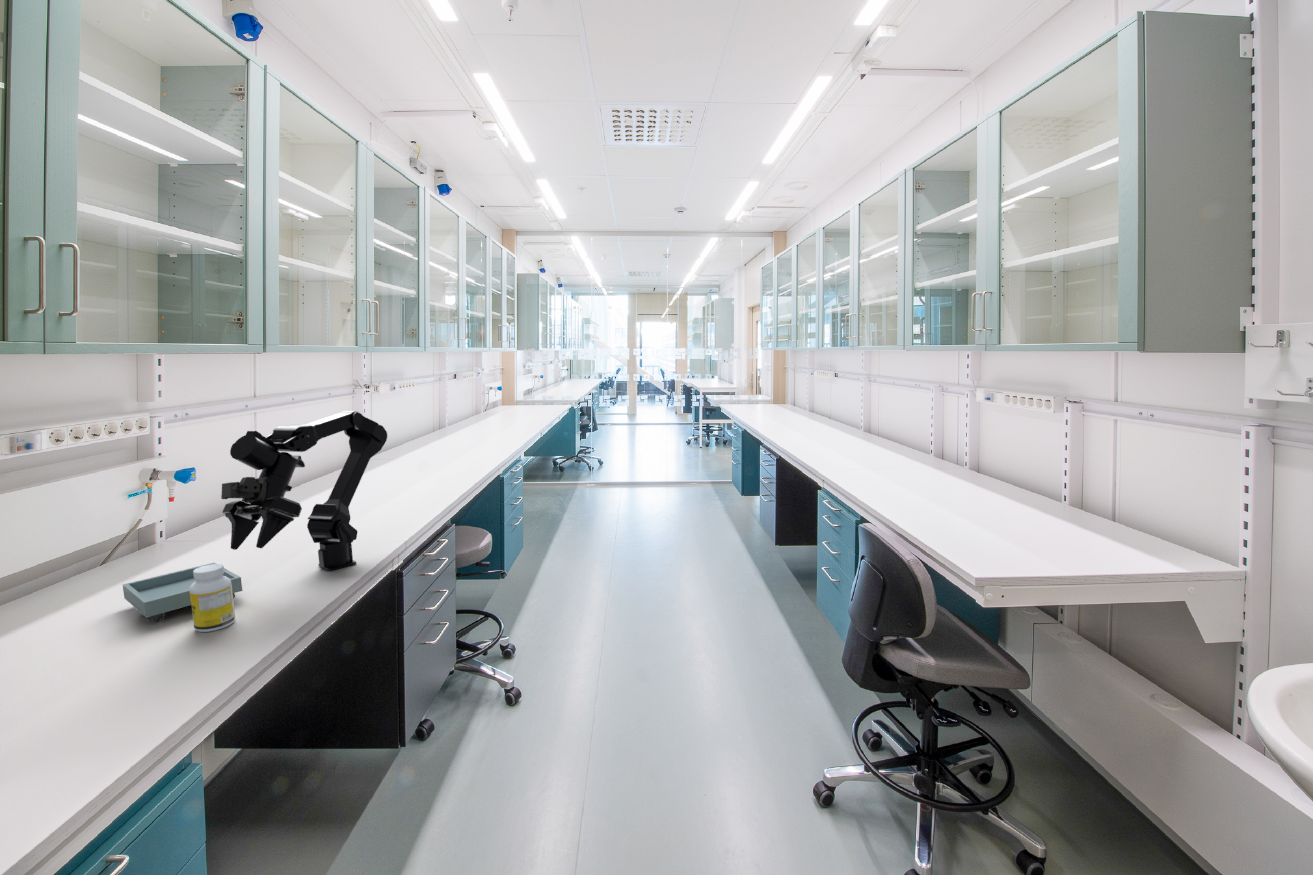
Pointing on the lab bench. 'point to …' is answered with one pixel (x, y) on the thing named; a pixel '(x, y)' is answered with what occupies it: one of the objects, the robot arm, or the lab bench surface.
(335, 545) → the robot arm
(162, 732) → the lab bench surface
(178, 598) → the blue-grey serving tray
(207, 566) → the pill bottle
